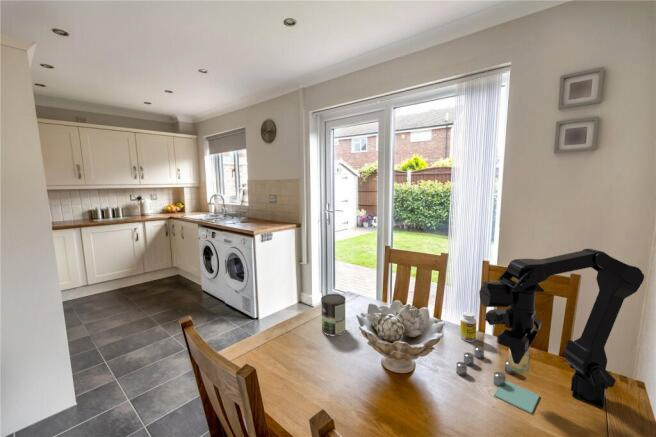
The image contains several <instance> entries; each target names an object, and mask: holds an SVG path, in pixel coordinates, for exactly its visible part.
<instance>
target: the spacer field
mask: <svg viewBox="0 0 656 437" xmlns="http://www.w3.org/2000/svg"><path fill="white" fill-rule="evenodd" d="M473 348H474V351H473V353H471V352H464V353H463V361H457V362H456V368H455V369H456V375H458V376H460V377H467V372H468V371H467V370H468V367H473V366H474V364H475V362H474V361H475V360H474V359H475V358H476V359H478V360H484V358H485V349H484V347H481V346H477V345H475V346H474V347H473ZM467 366H468V367H467ZM504 371H505V373H506V374H508V375H512V376H513V375H514V376H515V375H516V374H517V372H515V371H513V370H511V369H510V368H509V367H508V359H506V360H505V361H504ZM505 381H506V375H505V374H504V373H502V372H499V371H494V372H493V385H494V386H496V387H497V388H499V386H502V387H503V386H505Z"/></svg>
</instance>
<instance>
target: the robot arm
mask: <svg viewBox="0 0 656 437" xmlns="http://www.w3.org/2000/svg"><path fill="white" fill-rule="evenodd" d="M588 268H591V269H593V270H595V271H596V272H597V274H596V283H597V287H598V289H599V290H598V294H597V295H596V298H595V301H594V303H593V306H592V308H591V310H590V314H589V315H588V319H587V321H586V323H585V326H584V328H583V330H582V333H581V336H580V337H578V338H577V339H575V340H572V339H568V340H567V343H566V347H565V348H564V349H563V352H564V355H563V356H564V359H565V361H566V362H567V363H568V365H569V368H571V369H572V370H573V371H575V372H574V373H572V376H571V385H570V391H571V392H572V393H571V397H573V398H574V399H577V400H580V401H582V402H585V403H587V404H590V405H592V406H595V407H597V408H600V409H604V408H605V404H606V403H605V402H606V390H607V389H608V388H613V387H614V385H615V384H616V378H614V376H612V374H610V373H609V371H607V370H606V369H607V365H608V358H607V354H606V350H605V347H606V344H607V342H608V339H609V337H610V334H611V333H612V330H613V327H614V325H615V323H616V320H617V317H618V316H619V313H620V310H621V308H622V306H623V302H624V301H625V299H627V298H629V297H630V296H632V295H634V294H635V293H637V291H638V290H639V288H640V287H641V285H642V284H643V282H644V279H645V274H644V273H643V271H642V270H641V269H640V268H639V267H637V266H634V265H630V264H627V263H626V262H622V261H620V260H619V259H616V258H614V257H612V256H611V255H609V254H608V253H606V252H604V251H601V250H598V249H594V248H584V249H582V250H579V251H574V252H570V253H563V254H560V255H554V256H551V257H546V258H515V259H513V260H511V261H510V262H509V264H508V265H507V268H506V269H505V270H504V271H503V272H502V274H501V275H500V276H499V278H497V281H484V282H483V285H482V286H481V287H480V290H478V291H479V293H478V294H479V299H480V302H481V305H482V306H483V307H485V308H494V309H490V310H488V311H487V312H486V313H485V315H484V316H485V319H484V320H485V321H486V322H487V323H488V325H489V326H494V325H504V328H506V329H503V330H502V331H500V333H499V334H498V335H497V341H496V342H497V344H499V345H501V346H504V347H507V348H508V349H509V348H510V351H511V355H512V358H513V362H514V363H515V364H519V363H520V361H521V359H522V358H523V356H524V354H525V353H526V351H527V350H528V351H529V349H530V346H531V345H532V343H533V342H534V341H535V339H536V337H537V336H538V335H539V334H538V333H539V332H538V331H540V330H541V328H542V320H541V319H540V318H539V317H538V316H535V315H536V314H537V310H536V309H535V307H536V306H535V304H536V293H543V292H545V289H544V288H542V287H541V286H540V285H539V284H540V283H543V282H545V281H546V280H547V279H548V278H550V277H553V276H555V275H560V274H565V273H569V272H570V273H571V272H574V271H578V270H585V269H588ZM512 279H514V280H516V281H514V280H512ZM495 308H498V309H495ZM507 328H508V329H507ZM510 329H511V330H510Z"/></svg>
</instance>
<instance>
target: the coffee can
mask: <svg viewBox="0 0 656 437" xmlns="http://www.w3.org/2000/svg"><path fill="white" fill-rule="evenodd" d="M320 302H321V332H322V331H323V332H324V333H326V334H328V335H340V334H342V335H344V334H345V333H344V332H346V331H345V329H346V297H345V296H344V295H342V294H339V293H330V294H329V293H328V294H325V295H323V296H321V298H320ZM323 332H322V333H323ZM324 333H323V334H324ZM343 333H344V334H343ZM328 335H327V336H328ZM340 336H341V335H340Z"/></svg>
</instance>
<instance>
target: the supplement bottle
mask: <svg viewBox="0 0 656 437" xmlns="http://www.w3.org/2000/svg"><path fill="white" fill-rule="evenodd" d="M459 327H460V329H459V330H460V332H459V336H460V338H461V340H463V341H464V342H469V343H470V342H471V343H472V342H476V339H477V336H476V335H477V319H476V318H475V314H474V313H473V312H471V311H464V312H463V314H462V316H461V317H460V326H459Z"/></svg>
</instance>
